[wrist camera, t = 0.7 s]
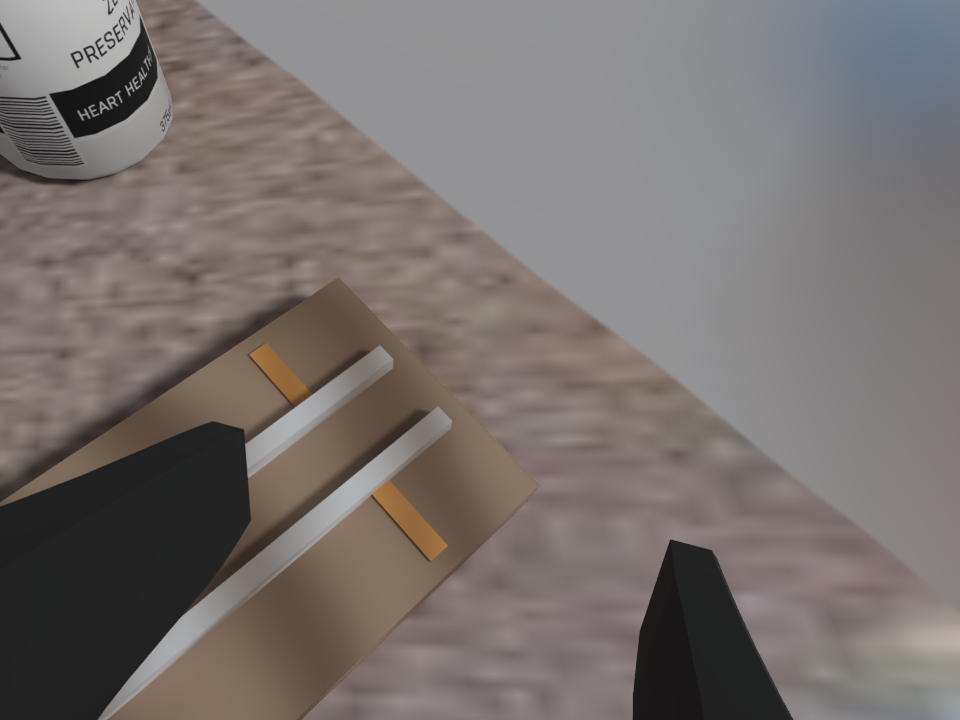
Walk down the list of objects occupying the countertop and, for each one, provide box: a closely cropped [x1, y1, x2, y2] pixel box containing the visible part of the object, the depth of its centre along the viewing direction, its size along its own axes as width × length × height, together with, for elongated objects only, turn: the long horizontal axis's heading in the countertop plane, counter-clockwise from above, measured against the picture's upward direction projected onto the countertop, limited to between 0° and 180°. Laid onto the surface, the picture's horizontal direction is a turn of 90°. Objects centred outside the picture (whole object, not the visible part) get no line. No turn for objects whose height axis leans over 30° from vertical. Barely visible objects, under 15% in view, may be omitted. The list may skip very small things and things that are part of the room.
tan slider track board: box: [0, 278, 539, 720], centre depth 23 cm, size 20×12×3 cm, turn 134°
